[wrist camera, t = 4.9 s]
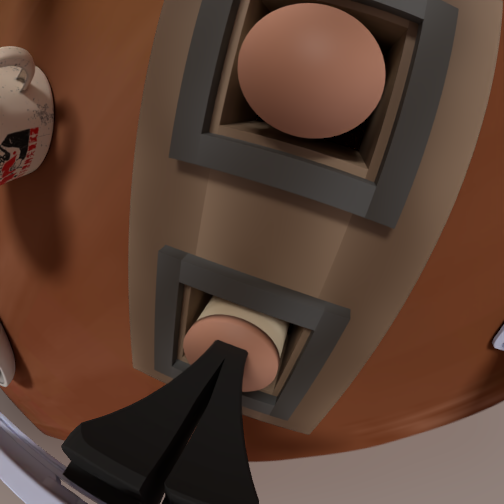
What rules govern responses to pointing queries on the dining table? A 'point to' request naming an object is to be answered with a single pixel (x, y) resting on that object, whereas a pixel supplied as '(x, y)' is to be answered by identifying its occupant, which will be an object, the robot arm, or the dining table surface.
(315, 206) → the walnut block
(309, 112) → the peg
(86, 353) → the dining table surface
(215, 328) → the peg
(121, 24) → the dining table surface
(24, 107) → the teacup with lid
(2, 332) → the bowl
